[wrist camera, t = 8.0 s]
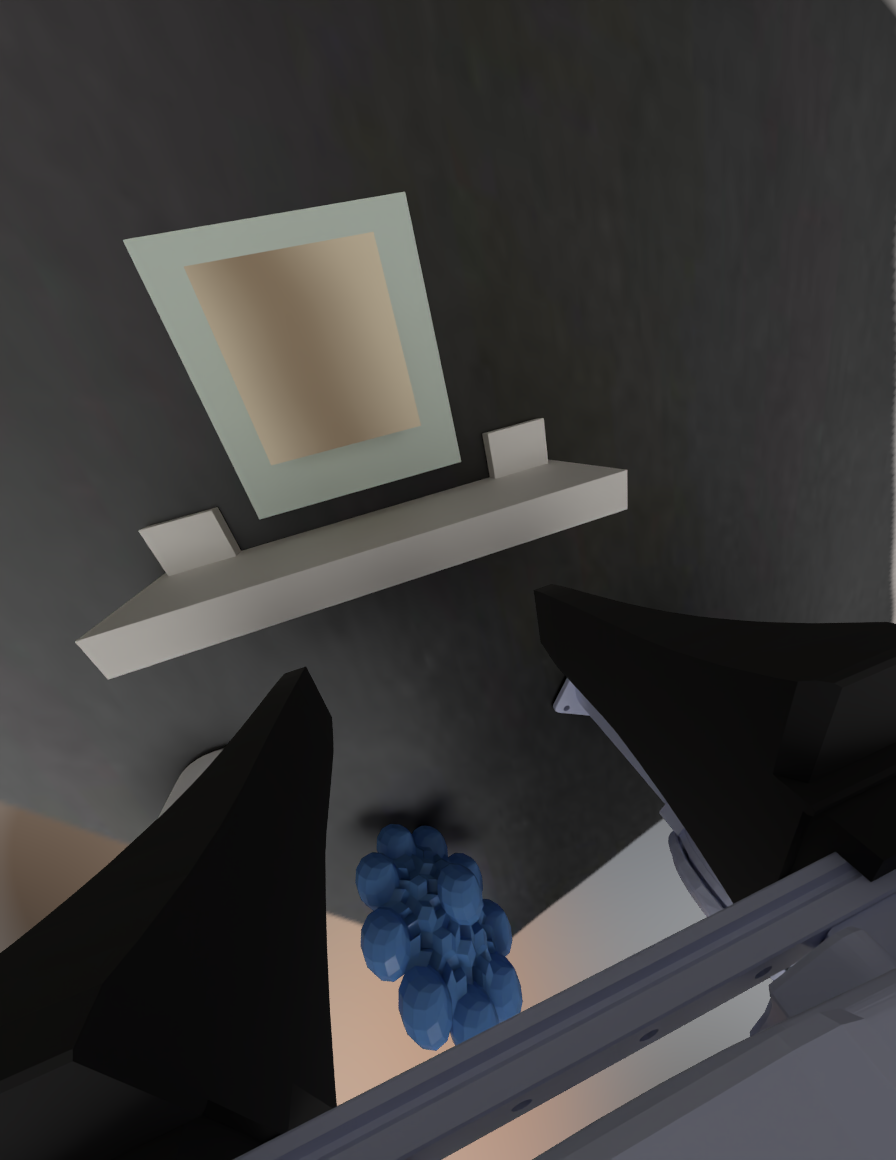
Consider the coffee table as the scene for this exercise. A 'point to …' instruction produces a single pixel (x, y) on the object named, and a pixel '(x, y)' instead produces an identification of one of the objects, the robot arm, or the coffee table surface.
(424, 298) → the sage mat
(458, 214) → the coffee table surface
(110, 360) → the coffee table surface
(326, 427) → the maple cube
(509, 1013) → the grapes
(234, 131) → the coffee table surface
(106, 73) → the coffee table surface
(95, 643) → the grey screen
